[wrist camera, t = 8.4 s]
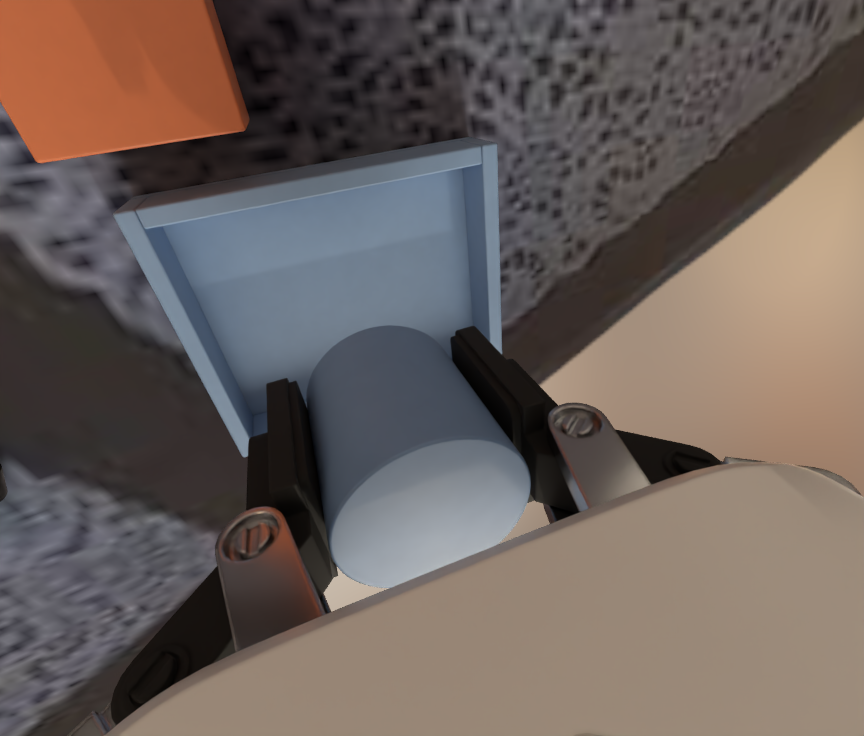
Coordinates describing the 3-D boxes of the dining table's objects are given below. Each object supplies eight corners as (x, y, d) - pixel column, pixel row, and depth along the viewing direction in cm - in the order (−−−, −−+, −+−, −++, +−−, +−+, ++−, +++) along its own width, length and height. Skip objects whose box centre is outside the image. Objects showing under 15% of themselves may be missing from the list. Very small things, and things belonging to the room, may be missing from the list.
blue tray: (469, 136, 17) (497, 142, 15) (481, 353, 22) (503, 378, 20) (132, 196, 14) (110, 213, 12) (244, 422, 20) (242, 458, 18)
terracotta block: (189, -75, 11) (154, -152, 8) (250, 120, 14) (246, 131, 10) (-7, -63, 11) (-149, -145, 7) (98, 144, 13) (35, 164, 10)
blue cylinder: (444, 306, 12) (533, 408, 8) (457, 423, 14) (530, 543, 10) (285, 349, 11) (298, 486, 7) (328, 466, 13) (356, 614, 10)
